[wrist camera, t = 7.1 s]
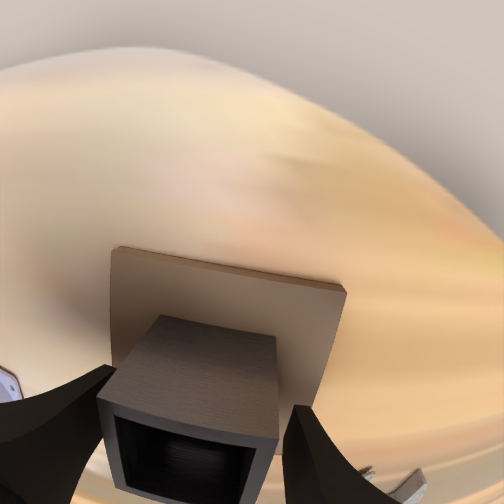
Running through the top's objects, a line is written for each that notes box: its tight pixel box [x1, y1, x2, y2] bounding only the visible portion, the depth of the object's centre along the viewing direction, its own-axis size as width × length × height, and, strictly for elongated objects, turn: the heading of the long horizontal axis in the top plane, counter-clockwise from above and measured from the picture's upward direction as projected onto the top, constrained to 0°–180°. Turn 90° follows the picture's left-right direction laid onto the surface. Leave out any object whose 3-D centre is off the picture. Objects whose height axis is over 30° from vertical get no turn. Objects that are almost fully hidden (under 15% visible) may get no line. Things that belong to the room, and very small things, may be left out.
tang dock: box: [110, 247, 347, 455], centre depth 13 cm, size 10×10×4 cm
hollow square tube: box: [96, 314, 280, 504], centre depth 10 cm, size 5×5×6 cm
